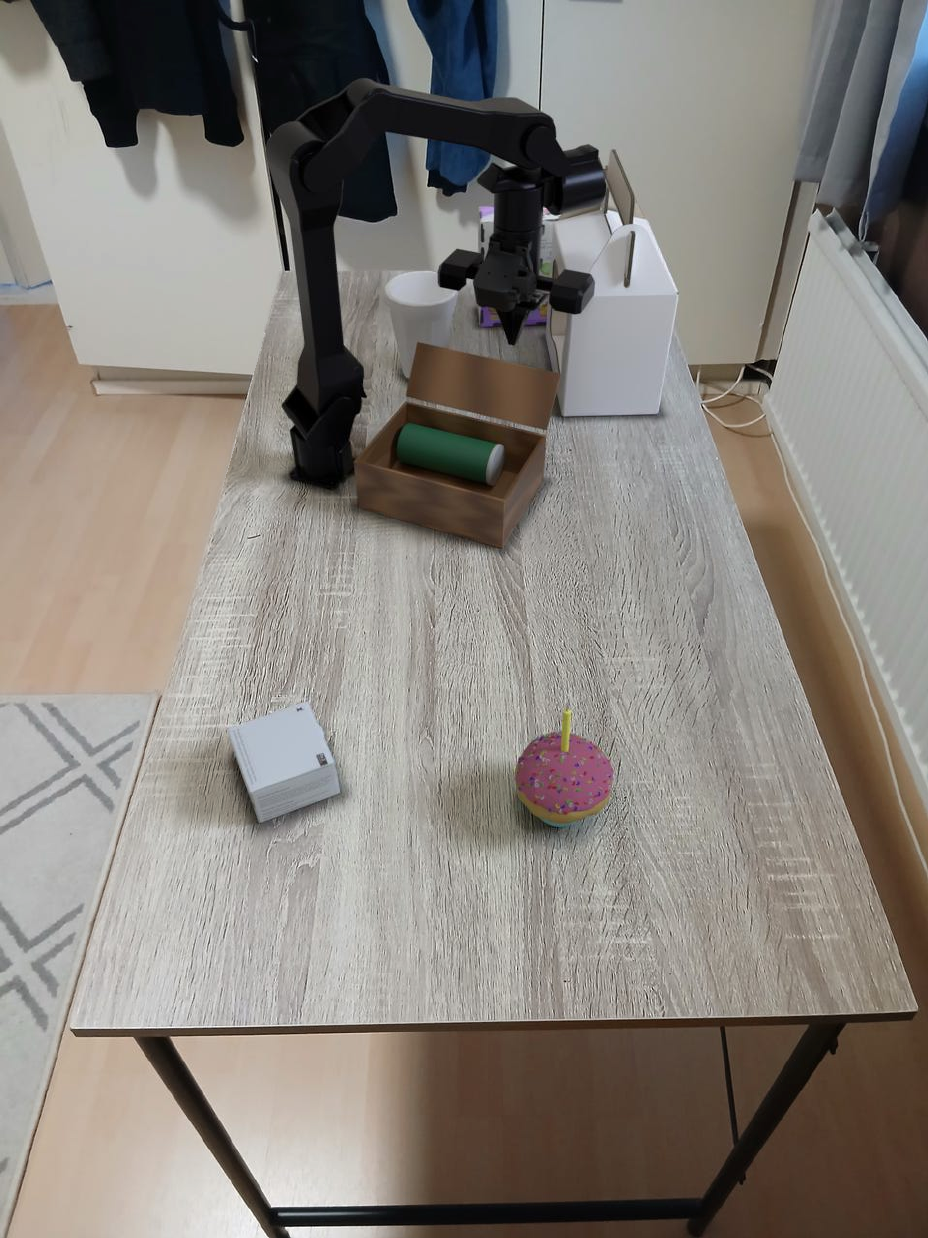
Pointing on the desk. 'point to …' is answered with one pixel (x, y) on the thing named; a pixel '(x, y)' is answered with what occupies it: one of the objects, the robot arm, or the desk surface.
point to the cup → (419, 313)
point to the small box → (284, 761)
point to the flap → (483, 385)
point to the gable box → (612, 307)
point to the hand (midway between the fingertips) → (512, 343)
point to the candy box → (539, 315)
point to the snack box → (451, 478)
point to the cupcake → (563, 777)
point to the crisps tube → (451, 453)
